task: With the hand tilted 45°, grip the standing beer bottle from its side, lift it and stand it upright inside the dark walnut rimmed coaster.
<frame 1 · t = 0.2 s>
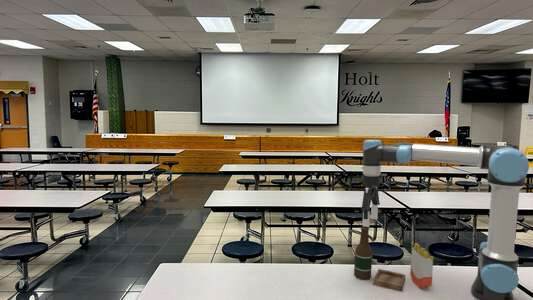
hand: (370, 222, 156), 28 cm above the table, tool pointing down, fingers open, 13 cm apart
walnut coaster: (389, 282, 160), on the table
beer bottle: (362, 276, 165), on the table
french fries container: (420, 285, 158), on the table
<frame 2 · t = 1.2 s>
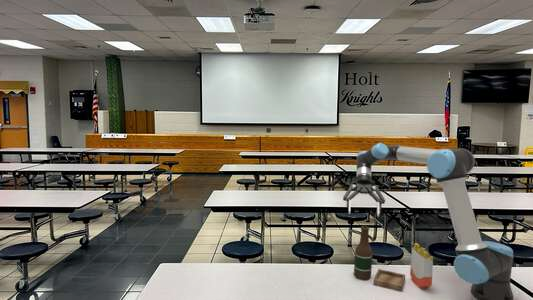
hand: (363, 214, 172), 27 cm above the table, tool tilted 45°, fingers open, 13 cm apart
nothing on the table moved.
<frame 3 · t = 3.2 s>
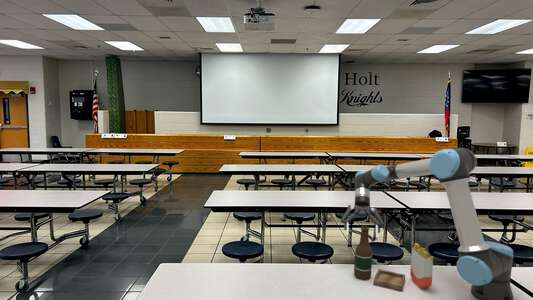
hand: (361, 237, 168), 17 cm above the table, tool tilted 45°, fingers open, 13 cm apart
nothing on the table moved.
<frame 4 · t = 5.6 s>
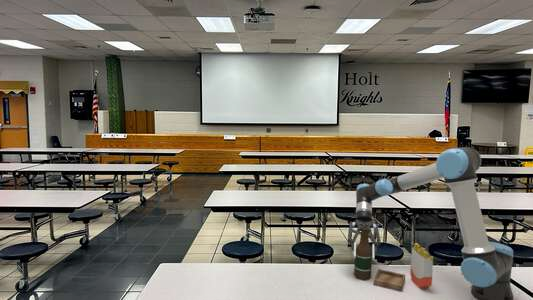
hand: (363, 257, 160), 11 cm above the table, tool tilted 45°, fingers closed on beer bottle, 7 cm apart
beer bottle: (362, 276, 165), on the table, touching gripper
everything else where it was.
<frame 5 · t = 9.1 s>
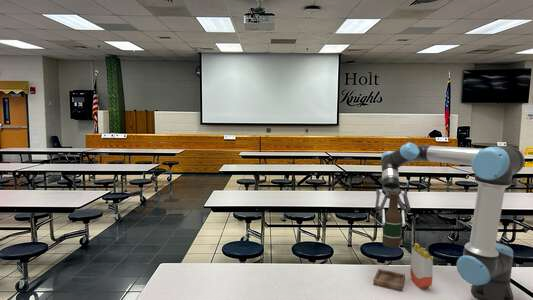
hand: (393, 224, 153), 28 cm above the table, tool tilted 45°, fingers closed on beer bottle, 7 cm apart
beer bottle: (391, 245, 158), point 18 cm above the table, touching gripper
everything else where it was.
when the fingers open (13 cm above the table, at t = 13.0 s): beer bottle drops 1 cm, resting on walnut coaster.
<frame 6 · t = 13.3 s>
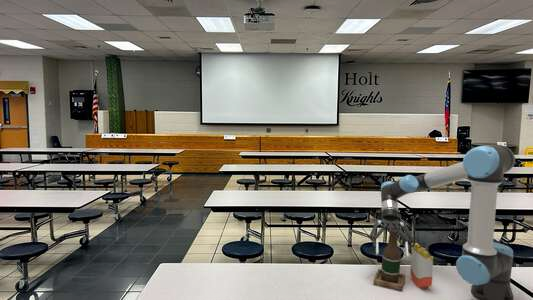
hand: (392, 255, 156), 14 cm above the table, tool tilted 45°, fingers open, 12 cm apart
beer bottle: (389, 280, 160), point 1 cm above the table, touching walnut coaster
everything else where it was.
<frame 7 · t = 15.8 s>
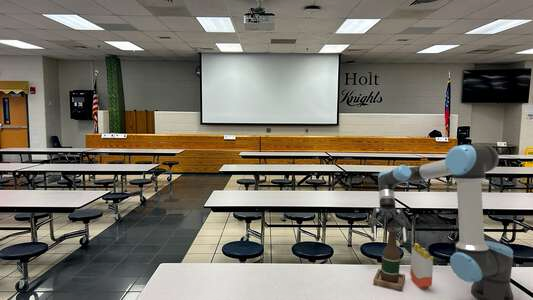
hand: (389, 240, 169), 15 cm above the table, tool tilted 40°, fingers open, 13 cm apart
nothing on the table moved.
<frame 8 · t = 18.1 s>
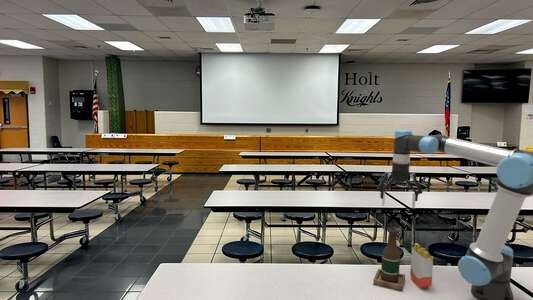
hand: (398, 206, 169), 32 cm above the table, tool pointing down, fingers open, 13 cm apart
nothing on the table moved.
at the end: beer bottle 0.1 cm off-centre on the walnut coaster, point 0.8 cm above the walnut coaster's base; beer bottle tilted 0°; the gripper is holding nothing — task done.
